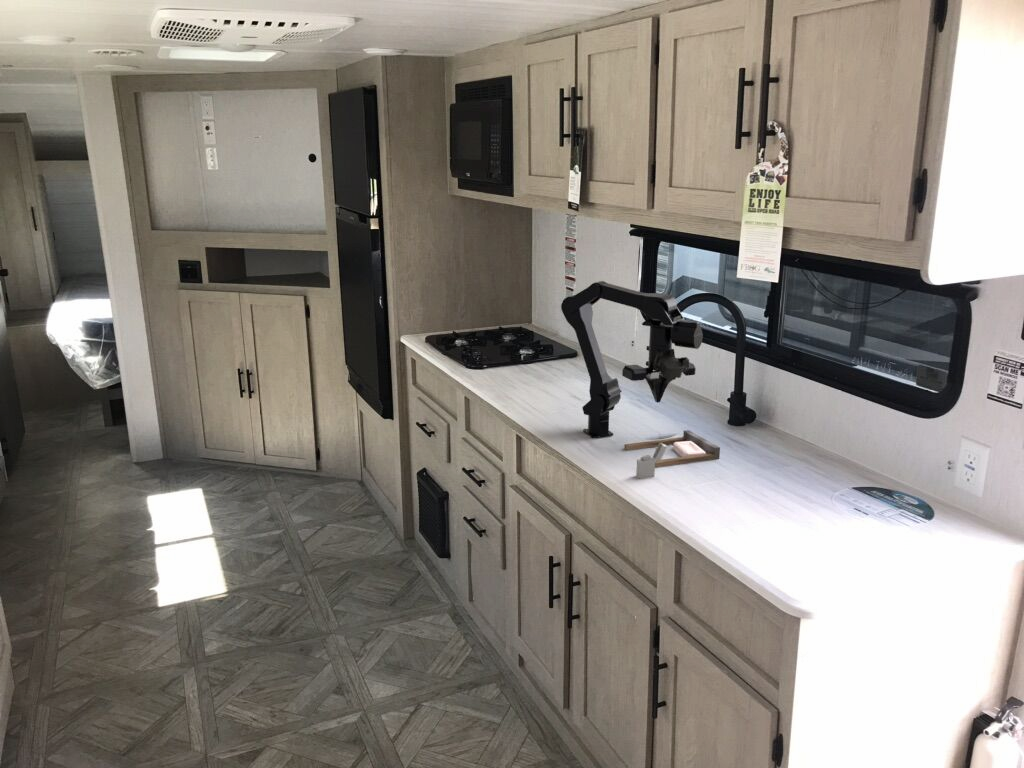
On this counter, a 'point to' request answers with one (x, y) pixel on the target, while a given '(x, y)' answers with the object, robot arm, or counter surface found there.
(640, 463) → the lighter
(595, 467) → the counter surface
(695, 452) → the soap bar
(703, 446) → the guide channel
